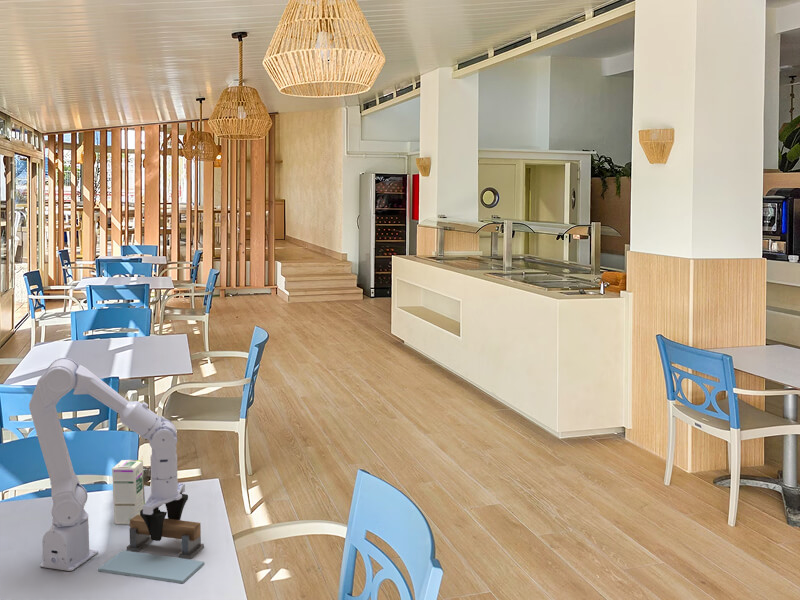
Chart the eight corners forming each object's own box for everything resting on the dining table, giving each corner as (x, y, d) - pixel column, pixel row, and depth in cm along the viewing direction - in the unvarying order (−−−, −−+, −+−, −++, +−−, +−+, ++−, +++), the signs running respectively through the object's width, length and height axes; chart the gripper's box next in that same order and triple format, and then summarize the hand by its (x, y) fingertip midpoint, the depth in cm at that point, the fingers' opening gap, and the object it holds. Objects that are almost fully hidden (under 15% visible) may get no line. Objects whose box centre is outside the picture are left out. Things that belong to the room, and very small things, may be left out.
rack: (190, 558, 170) (190, 537, 169) (126, 550, 174) (126, 528, 173) (204, 547, 176) (203, 526, 175) (141, 539, 180) (141, 518, 179)
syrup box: (137, 525, 188) (136, 467, 186) (113, 524, 188) (111, 466, 186) (145, 515, 193) (144, 459, 191) (122, 515, 193) (120, 459, 192)
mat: (183, 583, 159) (182, 580, 159) (98, 571, 164) (97, 568, 164) (204, 564, 168) (204, 561, 168) (122, 552, 172) (122, 550, 172)
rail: (194, 540, 171) (193, 528, 171) (130, 532, 175) (129, 519, 175) (200, 535, 174) (200, 522, 174) (137, 527, 178) (137, 514, 177)
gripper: (162, 488, 165) (164, 548, 166) (196, 466, 179) (197, 522, 180) (133, 484, 167) (135, 544, 168) (169, 463, 181) (170, 519, 182)
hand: (165, 533), depth 174 cm, fingers open, 7 cm apart
